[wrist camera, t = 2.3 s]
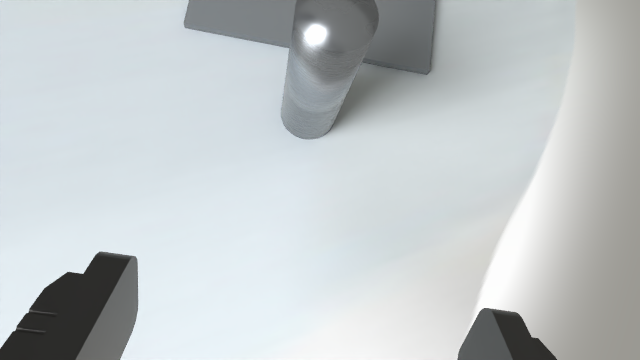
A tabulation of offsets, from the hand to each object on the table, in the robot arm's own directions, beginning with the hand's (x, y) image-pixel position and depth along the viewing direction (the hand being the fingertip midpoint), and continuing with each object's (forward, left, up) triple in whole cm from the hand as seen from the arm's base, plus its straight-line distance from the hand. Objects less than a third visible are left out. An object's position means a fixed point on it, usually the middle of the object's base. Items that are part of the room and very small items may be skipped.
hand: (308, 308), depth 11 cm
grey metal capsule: (0, +11, -14) cm, 17 cm away
